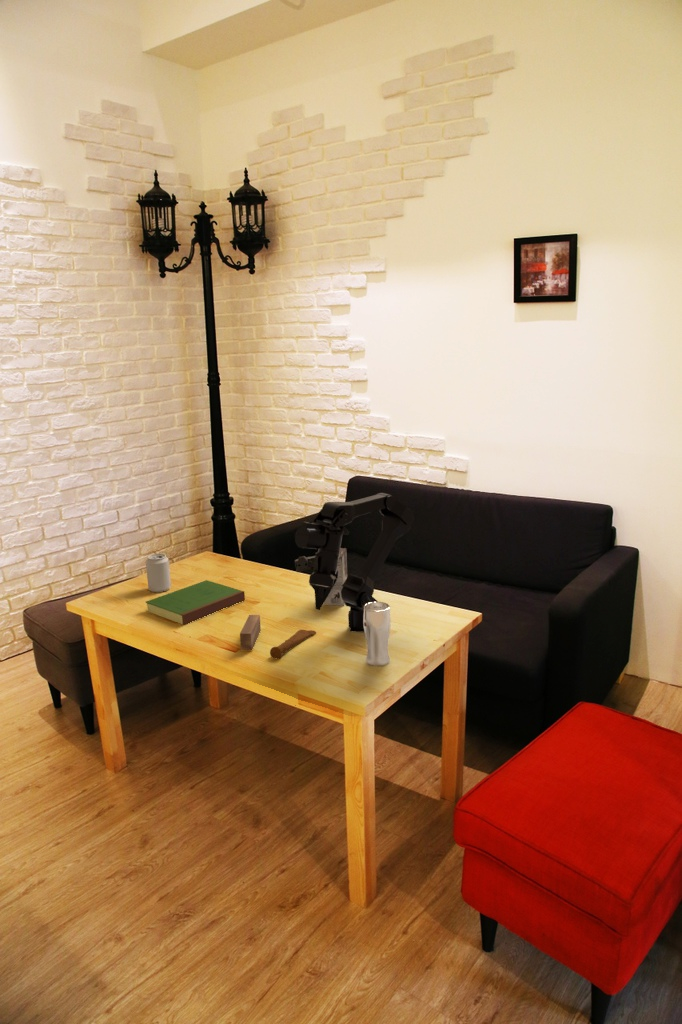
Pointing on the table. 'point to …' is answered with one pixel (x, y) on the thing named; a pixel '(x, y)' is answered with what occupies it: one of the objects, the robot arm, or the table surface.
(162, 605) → the hardcover book
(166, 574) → the can
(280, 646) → the primitive tool
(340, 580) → the coffee box
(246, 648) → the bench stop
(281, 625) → the table surface
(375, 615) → the beer glass
